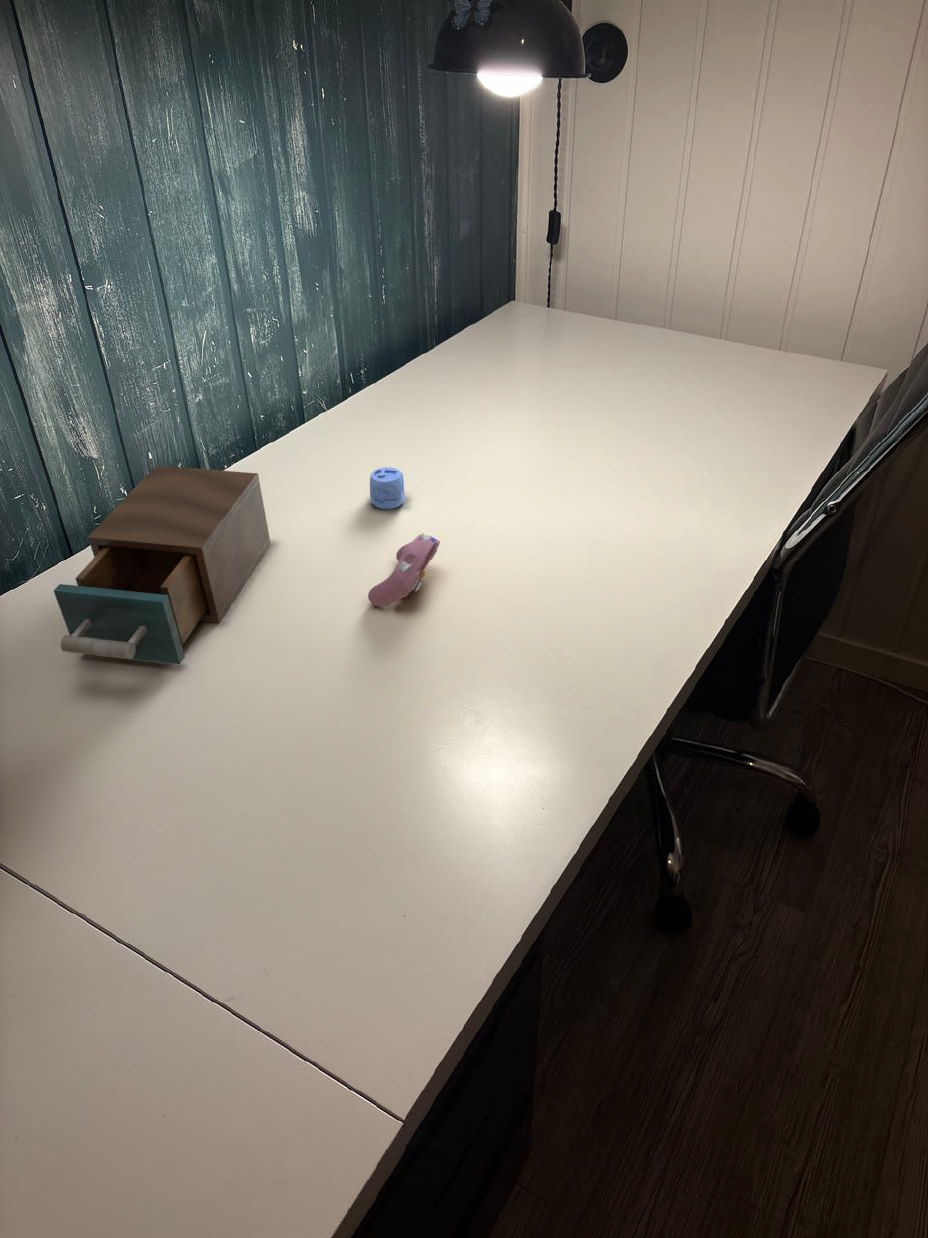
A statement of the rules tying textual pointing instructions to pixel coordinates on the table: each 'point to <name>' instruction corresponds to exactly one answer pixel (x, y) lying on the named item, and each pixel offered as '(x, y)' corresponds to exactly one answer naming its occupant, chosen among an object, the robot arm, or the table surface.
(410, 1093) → the table surface
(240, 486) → the cabinet
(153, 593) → the drawer
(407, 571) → the video game controller
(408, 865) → the table surface
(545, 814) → the table surface
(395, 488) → the decorative dice
